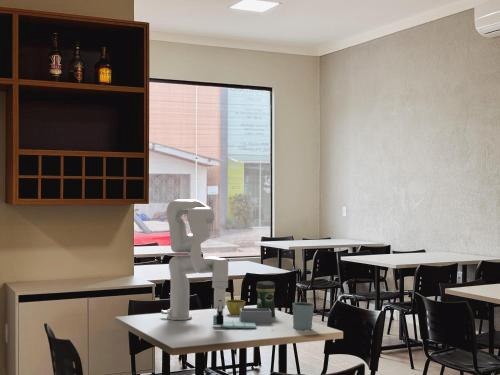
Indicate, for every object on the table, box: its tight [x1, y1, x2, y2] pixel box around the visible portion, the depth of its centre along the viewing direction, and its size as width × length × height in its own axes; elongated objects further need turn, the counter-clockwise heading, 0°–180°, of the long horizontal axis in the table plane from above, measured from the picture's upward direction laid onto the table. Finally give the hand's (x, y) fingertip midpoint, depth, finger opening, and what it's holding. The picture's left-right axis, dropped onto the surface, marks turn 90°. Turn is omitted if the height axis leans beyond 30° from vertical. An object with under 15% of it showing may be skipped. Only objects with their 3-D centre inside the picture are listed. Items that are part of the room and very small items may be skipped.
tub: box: [239, 307, 273, 325], centre depth 343 cm, size 15×10×6 cm, turn 94°
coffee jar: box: [255, 280, 276, 318], centre depth 360 cm, size 10×8×19 cm
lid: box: [212, 314, 257, 329], centre depth 330 cm, size 20×11×5 cm, turn 95°
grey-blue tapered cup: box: [292, 301, 315, 332], centre depth 330 cm, size 10×10×12 cm
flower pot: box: [225, 299, 246, 316], centre depth 366 cm, size 10×10×7 cm
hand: (219, 323), depth 329 cm, fingers closed on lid, 2 cm apart
